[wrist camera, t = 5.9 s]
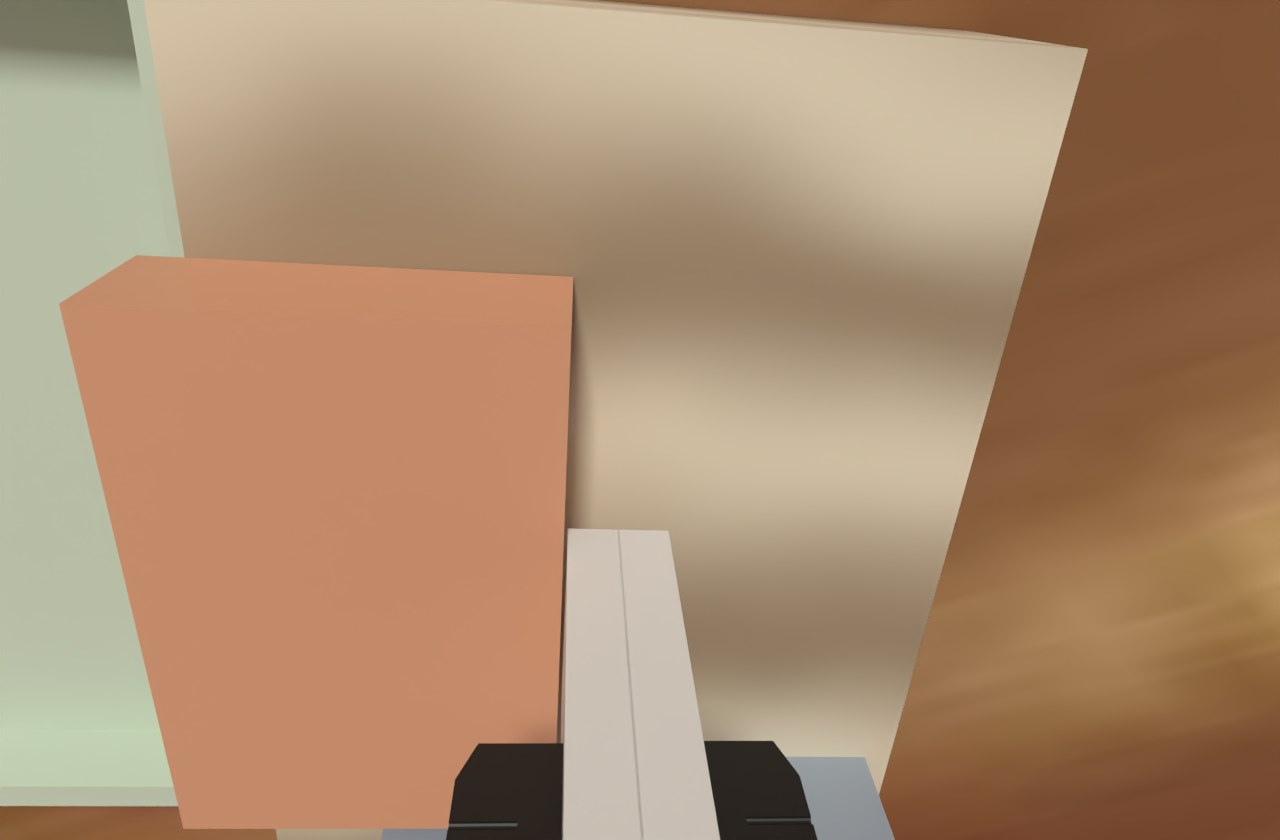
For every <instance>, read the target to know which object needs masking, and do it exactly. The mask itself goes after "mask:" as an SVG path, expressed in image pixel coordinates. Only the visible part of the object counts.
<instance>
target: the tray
mask: <svg viewBox="0 0 1280 840" xmlns="http://www.w3.org/2000/svg"><path fill="white" fill-rule="evenodd" d="M136 255H143V256H163V257H184V250H183V244H182V238H181V232H180V225H179V219H178V213H177V206H176V200H175V194H174V188H173V181H172V175H171V169H170V162H169V156H168V150H167V144H166V137H165V131H164V125H163V119H162V112H161V106H160V100H159V93H158V87H157V81H156V75H155V68H154V62H153V56H152V49H151V43H150V37H149V31H148V24H147V18H146V12H145V5H144V0H0V806H178V803H177V799H176V794H175V790H174V786H173V782H172V778H171V773H170V769H169V765H168V761H167V757H166V752H165V748H164V744H163V740H162V736H161V731H160V727H159V723H158V719H157V715H156V710H155V706H154V702H153V698H152V693H151V689H150V685H149V681H148V677H147V672H146V668H145V664H144V660H143V656H142V651H141V647H140V643H139V639H138V635H137V630H136V626H135V622H134V618H133V614H132V609H131V605H130V601H129V597H128V592H127V588H126V584H125V580H124V576H123V571H122V567H121V563H120V559H119V555H118V550H117V546H116V542H115V538H114V534H113V529H112V525H111V521H110V517H109V513H108V508H107V504H106V500H105V496H104V491H103V487H102V483H101V479H100V475H99V470H98V466H97V462H96V458H95V454H94V449H93V445H92V441H91V437H90V433H89V428H88V424H87V420H86V416H85V411H84V407H83V403H82V399H81V395H80V390H79V386H78V382H77V378H76V374H75V369H74V365H73V361H72V357H71V353H70V348H69V344H68V340H67V336H66V332H65V327H64V323H63V319H62V315H61V310H60V306H59V303H61V302H62V301H64V300H66V299H67V298H69V297H70V296H72V295H74V294H75V293H77V292H78V291H80V290H82V289H83V288H85V287H86V286H88V285H89V284H91V283H93V282H94V281H96V280H97V279H99V278H101V277H102V276H104V275H105V274H107V273H109V272H110V271H112V270H113V269H115V268H117V267H118V266H120V265H121V264H123V263H124V262H126V261H128V260H129V259H131V258H132V257H134V256H136ZM184 258H185V257H184Z"/></svg>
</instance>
